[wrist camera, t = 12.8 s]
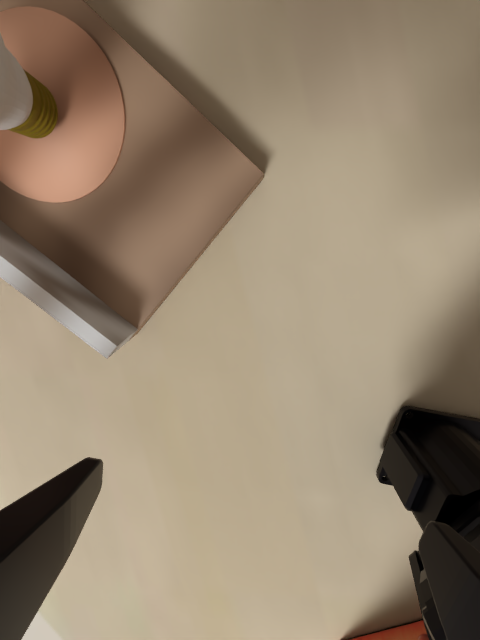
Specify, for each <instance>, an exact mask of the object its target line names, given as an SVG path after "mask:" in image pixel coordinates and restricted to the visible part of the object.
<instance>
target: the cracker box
mask: <svg viewBox="0 0 480 640" xmlns="http://www.w3.org/2000/svg"><path fill="white" fill-rule="evenodd" d="M349 640H429V638H428V636H427V632H426V629H425V626H424V621H423V620H422V621H418V622H415V623H411V624H407V625H403V626H400V627H396V628H392V629H388V630H384V631H381V632H377V633H373V634H369V635H365V636H361V637H357V638H353V639H349Z"/></svg>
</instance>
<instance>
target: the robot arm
mask: <svg viewBox="0 0 480 640" xmlns="http://www.w3.org/2000/svg"><path fill="white" fill-rule="evenodd" d="M409 412H411V413H410V414H409V415H406V414H407V413H409ZM380 462H381V463H380V465H379V468H378V471H377V474H376V476H377V478H378V480H379V482H380V483H383V484H387V485H393V486H394V488H395V490H396V492H397V494H398V496H399V498H400V499H401V501H402V503H403V505H404V507H405V508H406V509H407V510H409V511H412V512H413V514H414V516H415V518H416V520H417V521H418V523H419V525H420V527H421V528H422V530H423V534H422V537H421V539H420V541H419V551H416V550H415V551H414V552H413V553H412V554H411V555H409V560H410V565H411V569H412V573H413V578H414V582H415V586H416V591H417V595H418V600H419V604H420V608H421V613H422V617H423V621H424V626H425V629H426V632H427V636H428V638H429V640H480V419H476V418H471V417H465V416H460V415H454V414H449V413H444V412H438V411H433V410H427V409H422V408H417V407H411V406H405V407H403V408H402V409H401V410H400V412H399V415H398V418H397V420H396V423H395V426H394V428H393V431H392V433H391V434H390V435H389V438H388V441H387V443H386V446H385V449H384V451H383V454H382V457H381V459H380ZM102 474H103V461H102V460H101V459H96V458H91V457H88V458H85V459H83V460H82V461H80V462H78V463H77V464H75V465H73V466H72V467H70V468H69V469H67V470H65V471H64V472H62V473H60V474H59V475H57V476H56V477H54V478H52V479H51V480H49V481H47V482H46V483H44V484H42V485H41V486H39V487H38V488H36V489H34V490H33V491H31V492H29V493H28V494H26V495H25V496H23V497H21V498H20V499H18V500H16V501H15V502H13V503H12V504H10V505H8V506H7V507H5V508H3V509H2V510H0V640H21V639H22V637H23V636H24V634H25V632H26V630H27V629H28V627H29V625H30V623H31V622H32V620H33V618H34V617H35V615H36V613H37V611H38V610H39V608H40V606H41V605H42V603H43V601H44V599H45V598H46V596H47V594H48V593H49V591H50V589H51V587H52V586H53V584H54V582H55V581H56V579H57V577H58V575H59V574H60V572H61V570H62V569H63V567H64V565H65V563H66V561H67V560H68V558H69V556H70V554H71V552H72V550H73V548H74V546H75V544H76V542H77V539H78V537H79V535H80V533H81V531H82V529H83V527H84V524H85V522H86V520H87V518H88V516H89V514H90V512H91V510H92V507H93V505H94V503H95V501H96V499H97V497H98V495H99V492H100V489H101V486H102ZM383 476H385V477H383Z"/></svg>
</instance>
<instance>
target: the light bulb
mask: <svg viewBox="0 0 480 640" xmlns="http://www.w3.org/2000/svg"><path fill="white" fill-rule="evenodd" d="M57 119H58V109H57V104H56V101H55V99H54V97H53V95H52V94H51V92H50V91H49V90H48V88H47V87H46V86H44V85H43V84H42V83H41V82H39V81H38V80H37V79H36V78H34V77H33V76H32V75H30V74H29V73H28V72H27V71H25V70H24V69H23V68H22V67H21V65H20V64H19V62H18V61H17V60H16V58H15V57H14V56H13V55H12V53H11V52H10V51H9V50H8V49H7V48H6V47H5V44H4V41H3V38H2V36H1V33H0V130H10V131H13V132H16V133H18V134H22V135H24V136H28V137H30V138H36V139H38V138H43V137H46V136H48V135H49V134H50V133H51V132H52V131H53V130H54V128H55V126H56V124H57Z"/></svg>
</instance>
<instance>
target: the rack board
mask: <svg viewBox="0 0 480 640" xmlns="http://www.w3.org/2000/svg"><path fill="white" fill-rule="evenodd" d="M0 33H1V36H2V38H3V41H4V44H5V47H6V48H7V49H8V50H9V51H10V52H11V53H12V55H13V56H14V57H15V58H16V60H17V61H18V62H19V64H20V65H21V67H22V68H23V69H24V70H25V71H27V72H28V73H29V74H30V75H32V76H33V77H34V78H36V79H37V80H38V81H39V82H41V83H42V84H43V85H44V86H46V87H47V88H48V90H49V91H50V92H51V94H52V95H53V97H54V99H55V101H56V104H57V109H58V119H57V124H56V126H55V128H54V130H53V131H52V132H51V133H50V134H49V135H48V136H46V137H43V138H38V139H36V138H30V137H28V136H24V135H22V134H18V133H16V132H13V131H10V130H0V277H1V278H2V279H3V280H5V281H6V282H7V283H9V284H10V285H11V286H13V287H14V288H15V289H16V290H18V291H19V292H20V293H22V294H23V295H24V296H26V297H27V298H28V299H30V300H31V301H32V302H33V303H35V304H36V305H37V306H39V307H40V308H41V309H43V310H44V311H45V312H47V313H48V314H49V315H50V316H52V317H53V318H54V319H56V320H57V321H58V322H60V323H61V324H62V325H64V326H65V327H66V328H67V329H69V330H70V331H71V332H73V333H74V334H75V335H77V336H78V337H79V338H81V339H82V340H83V341H84V342H86V343H87V344H88V345H90V346H91V347H92V348H94V349H95V350H96V351H98V352H99V353H100V354H101V355H103V356H104V357H105V358H108V357H110V356H111V355H112V354H113V353H114V352H116V351H117V350H118V349H119V348H120V347H122V346H123V345H124V344H125V343H126V342H128V341H129V340H130V339H131V338H132V337H134V336H135V335H136V334H137V333H138V332H139V331H140V330H141V328H142V327H143V326H144V325H145V324H146V322H147V321H148V320H149V319H150V317H151V316H152V315H153V314H154V312H155V311H156V310H157V309H158V308H159V306H160V305H161V304H162V303H163V301H164V300H165V299H166V298H167V296H168V295H169V294H170V293H171V292H172V290H173V289H174V288H175V287H176V285H177V284H178V283H179V282H180V280H181V279H182V278H183V277H184V276H185V274H186V273H187V272H188V271H189V269H190V268H191V267H192V266H193V264H194V263H195V262H196V261H197V260H198V258H199V257H200V256H201V255H202V253H203V252H204V251H205V250H206V248H207V247H208V246H209V245H210V244H211V242H212V241H213V240H214V239H215V237H216V236H217V235H218V234H219V233H220V231H221V230H222V229H223V228H224V226H225V225H226V224H227V223H228V221H229V220H230V219H231V218H232V217H233V215H234V214H235V213H236V212H237V210H238V209H239V208H240V207H241V205H242V204H243V203H244V202H245V201H246V199H247V198H248V197H249V196H250V194H251V193H252V192H253V191H254V189H255V188H256V187H257V186H258V185H259V183H260V182H261V181H262V180H263V178H264V173H263V172H262V171H261V170H260V169H259V168H258V167H257V166H255V165H254V164H253V163H252V162H251V161H250V160H249V159H248V158H247V157H246V156H245V155H244V154H243V153H242V152H241V151H240V150H239V149H238V148H237V147H236V146H235V145H234V144H233V143H231V142H230V141H229V140H228V139H227V138H226V137H225V136H224V135H223V134H222V133H221V132H220V131H219V130H218V129H217V128H216V127H215V126H214V125H213V124H212V123H211V122H210V121H208V120H207V119H206V118H205V117H204V116H203V115H202V114H201V113H200V112H199V111H198V110H197V109H196V108H195V107H194V106H193V105H192V104H191V103H190V102H189V101H188V100H187V99H186V98H184V97H183V96H182V95H181V94H180V93H179V92H178V91H177V90H176V89H175V88H174V87H173V86H172V85H171V84H170V83H169V82H168V81H167V80H166V79H165V78H164V77H163V76H162V75H160V74H159V73H158V72H157V71H156V70H155V69H154V68H153V67H152V66H151V65H150V64H149V63H148V62H147V61H146V60H145V59H144V58H143V57H142V56H141V55H140V54H139V53H138V52H136V51H135V50H134V49H133V48H132V47H131V46H130V45H129V44H128V43H127V42H126V41H125V40H124V39H123V38H122V37H121V36H120V35H119V34H118V33H117V32H116V31H115V30H114V29H112V28H111V27H110V26H109V25H108V24H107V23H106V22H105V21H104V20H103V19H102V18H101V17H100V16H99V15H98V14H97V13H96V12H95V11H94V10H93V9H92V8H91V7H89V6H88V5H87V4H86V3H85V2H84V1H83V0H0Z"/></svg>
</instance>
